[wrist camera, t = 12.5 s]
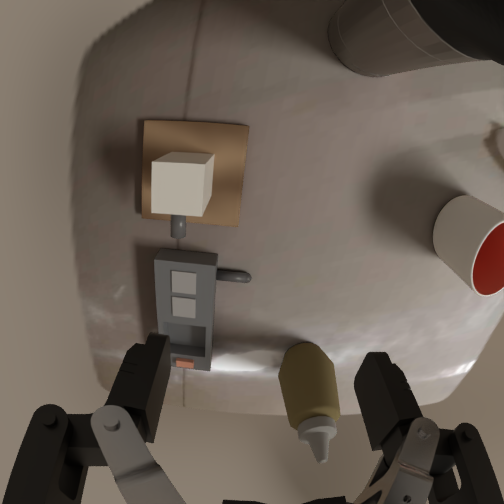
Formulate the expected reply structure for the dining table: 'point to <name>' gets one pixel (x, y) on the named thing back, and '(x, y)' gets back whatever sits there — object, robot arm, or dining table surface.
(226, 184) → the walnut board
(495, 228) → the cup
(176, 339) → the power strip
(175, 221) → the block
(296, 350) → the squeeze bottle
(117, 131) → the dining table surface
